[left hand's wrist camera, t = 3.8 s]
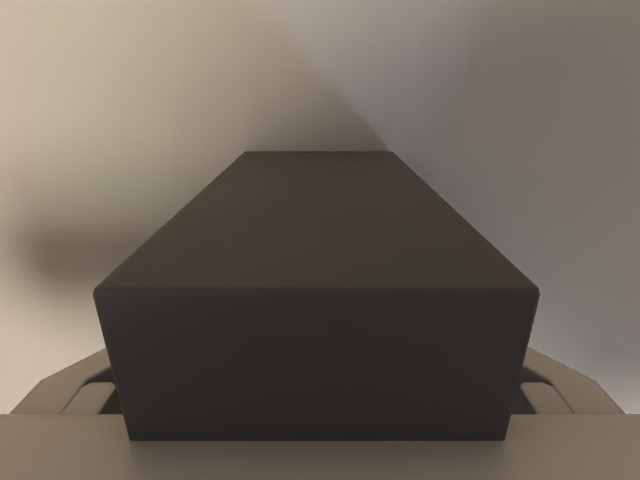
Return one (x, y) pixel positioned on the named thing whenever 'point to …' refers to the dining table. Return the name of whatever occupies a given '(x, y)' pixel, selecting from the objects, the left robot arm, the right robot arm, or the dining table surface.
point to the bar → (317, 311)
